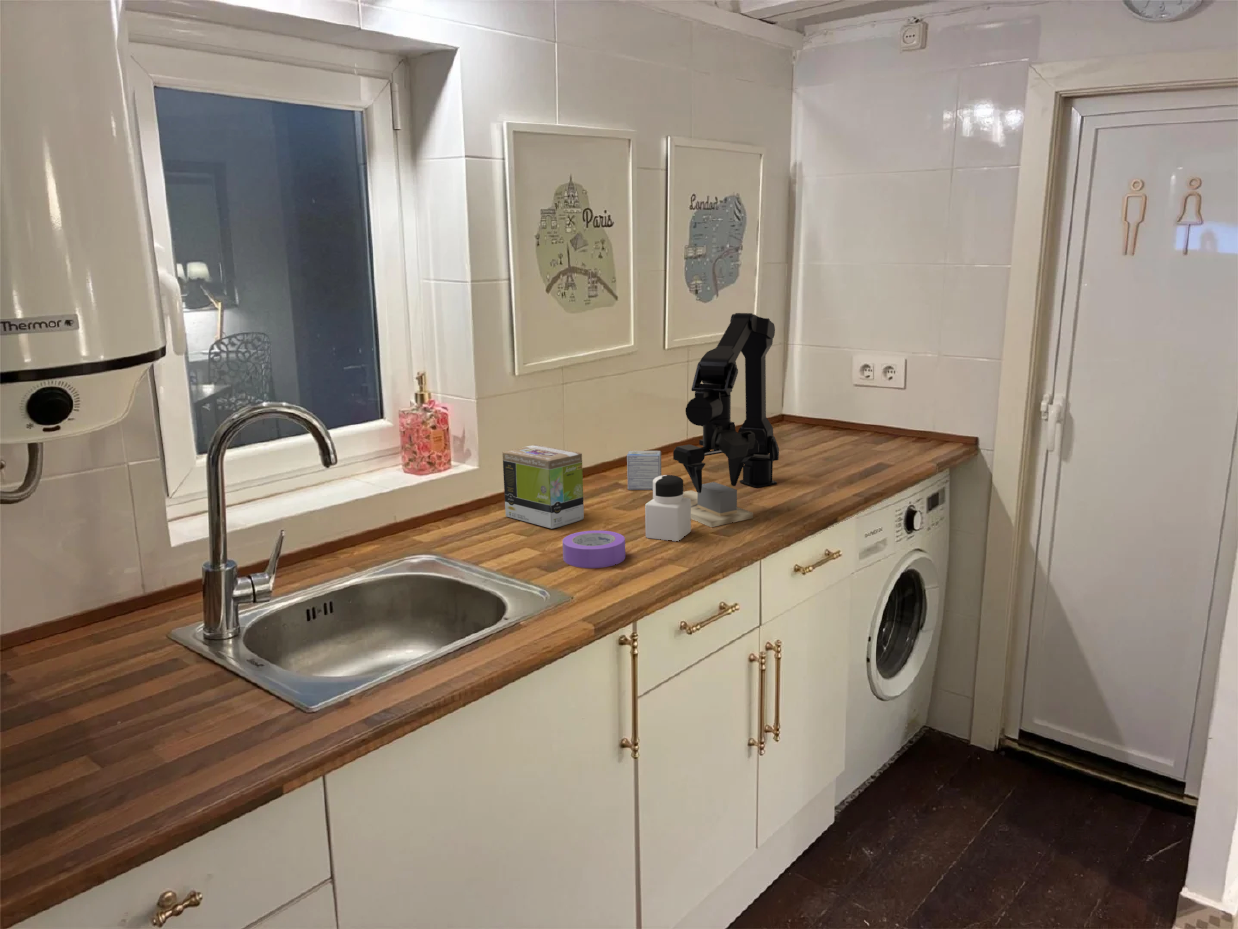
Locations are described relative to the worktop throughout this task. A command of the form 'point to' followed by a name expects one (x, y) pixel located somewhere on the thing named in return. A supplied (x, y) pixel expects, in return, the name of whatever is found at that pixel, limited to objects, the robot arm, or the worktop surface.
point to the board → (712, 518)
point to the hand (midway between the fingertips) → (716, 489)
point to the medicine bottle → (668, 510)
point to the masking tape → (594, 549)
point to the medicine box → (643, 469)
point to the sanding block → (718, 499)
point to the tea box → (543, 485)
